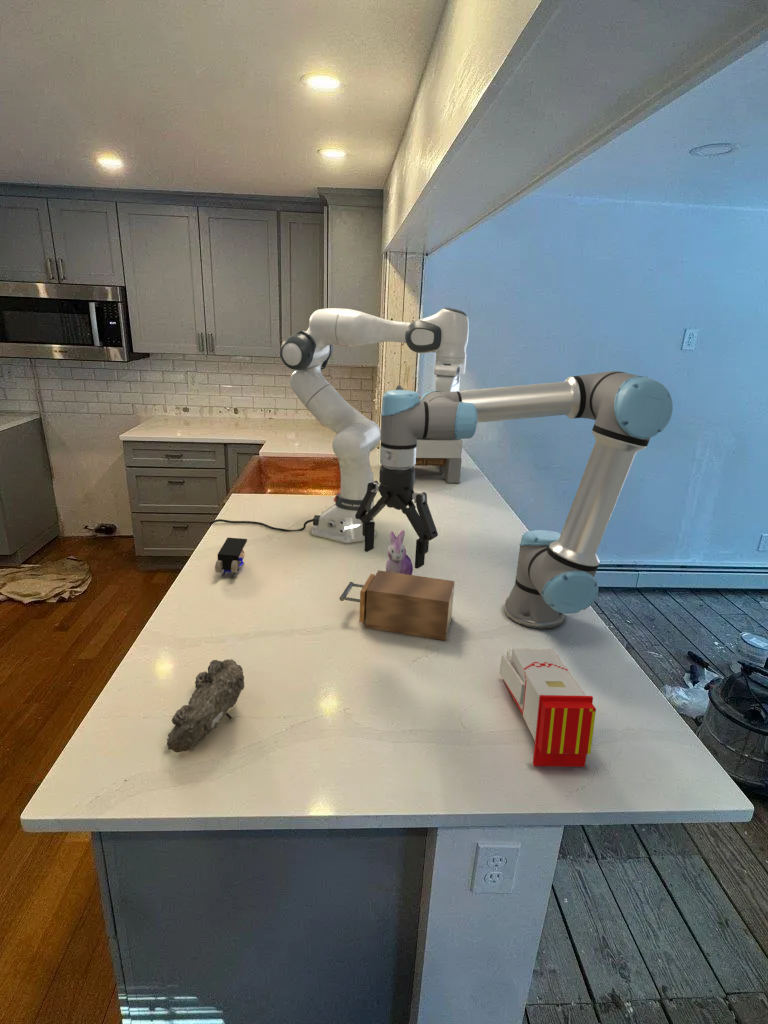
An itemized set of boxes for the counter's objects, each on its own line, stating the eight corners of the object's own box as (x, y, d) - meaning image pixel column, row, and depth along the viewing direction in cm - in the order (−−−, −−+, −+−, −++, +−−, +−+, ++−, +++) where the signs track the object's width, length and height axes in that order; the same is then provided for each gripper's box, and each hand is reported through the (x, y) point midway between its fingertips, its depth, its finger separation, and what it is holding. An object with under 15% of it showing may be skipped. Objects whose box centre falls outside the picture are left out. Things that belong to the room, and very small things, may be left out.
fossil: (192, 660, 117) (244, 628, 112) (224, 691, 120) (276, 661, 115) (142, 746, 98) (202, 712, 93) (182, 779, 101) (242, 748, 96)
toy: (549, 630, 124) (606, 704, 95) (544, 686, 127) (597, 774, 98) (495, 629, 124) (534, 703, 95) (490, 685, 127) (527, 774, 97)
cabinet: (365, 627, 140) (366, 589, 137) (376, 606, 151) (378, 570, 147) (445, 640, 136) (449, 602, 133) (451, 617, 147) (454, 581, 143)
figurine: (392, 589, 160) (394, 540, 155) (375, 574, 168) (377, 527, 163) (420, 583, 164) (424, 535, 159) (403, 569, 172) (406, 523, 167)
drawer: (338, 618, 142) (338, 588, 139) (349, 599, 152) (350, 570, 149) (433, 633, 137) (435, 602, 134) (439, 613, 147) (441, 583, 144)
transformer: (382, 463, 289) (386, 382, 275) (445, 464, 293) (451, 384, 279) (390, 482, 257) (394, 392, 243) (460, 483, 261) (468, 394, 247)
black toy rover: (238, 584, 162) (249, 557, 175) (236, 562, 158) (247, 536, 172) (215, 584, 161) (227, 556, 175) (212, 561, 158) (225, 535, 171)
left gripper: (445, 363, 177) (442, 407, 181) (433, 369, 158) (429, 418, 163) (466, 365, 175) (461, 409, 180) (455, 370, 156) (451, 420, 161)
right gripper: (340, 458, 123) (339, 548, 130) (440, 481, 109) (433, 579, 117) (361, 452, 129) (359, 538, 136) (458, 473, 115) (450, 567, 122)
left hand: (446, 414), depth 171 cm, fingers open, 8 cm apart
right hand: (393, 558), depth 126 cm, fingers open, 13 cm apart
